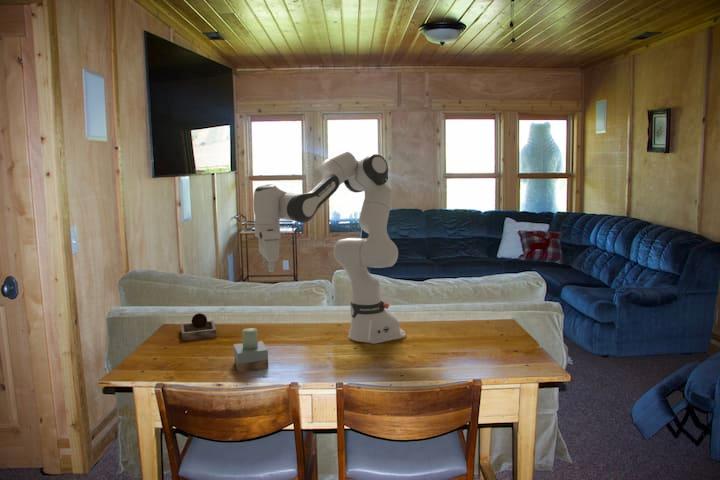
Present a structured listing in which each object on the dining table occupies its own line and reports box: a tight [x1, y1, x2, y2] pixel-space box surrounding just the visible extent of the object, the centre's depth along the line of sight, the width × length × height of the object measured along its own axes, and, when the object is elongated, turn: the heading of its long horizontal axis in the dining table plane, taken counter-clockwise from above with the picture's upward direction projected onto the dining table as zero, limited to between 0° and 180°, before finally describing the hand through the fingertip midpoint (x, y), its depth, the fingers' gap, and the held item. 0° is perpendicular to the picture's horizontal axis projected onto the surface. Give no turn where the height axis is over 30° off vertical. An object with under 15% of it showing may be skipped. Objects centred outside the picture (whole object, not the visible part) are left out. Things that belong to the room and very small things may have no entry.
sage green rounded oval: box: [241, 327, 259, 350], centre depth 196 cm, size 5×5×6 cm
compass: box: [191, 312, 208, 331], centre depth 234 cm, size 8×8×7 cm
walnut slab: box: [234, 357, 269, 373], centre depth 198 cm, size 10×10×4 cm
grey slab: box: [232, 340, 269, 364], centre depth 197 cm, size 10×10×4 cm
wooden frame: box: [180, 320, 217, 341], centre depth 232 cm, size 13×13×3 cm
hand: (268, 269), depth 205 cm, fingers open, 8 cm apart
